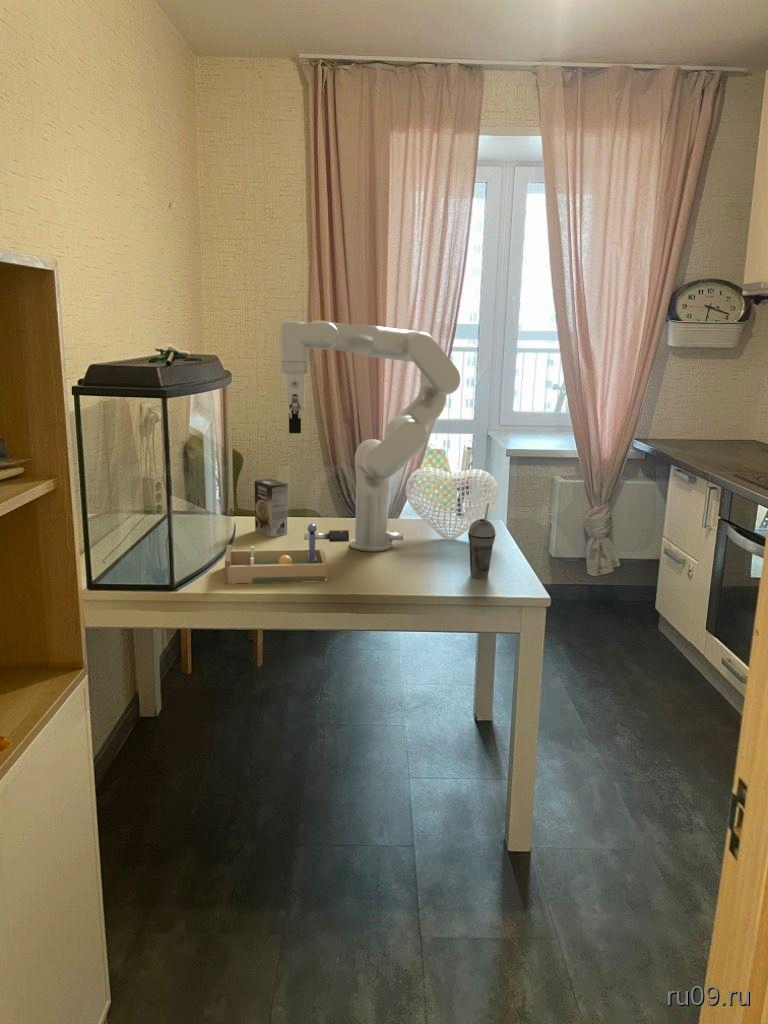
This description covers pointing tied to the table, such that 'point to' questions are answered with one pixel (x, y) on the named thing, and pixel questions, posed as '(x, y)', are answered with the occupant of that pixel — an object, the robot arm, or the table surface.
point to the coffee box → (271, 507)
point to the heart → (448, 474)
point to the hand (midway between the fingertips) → (294, 430)
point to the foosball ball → (285, 560)
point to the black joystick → (312, 536)
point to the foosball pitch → (273, 566)
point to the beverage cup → (481, 546)
